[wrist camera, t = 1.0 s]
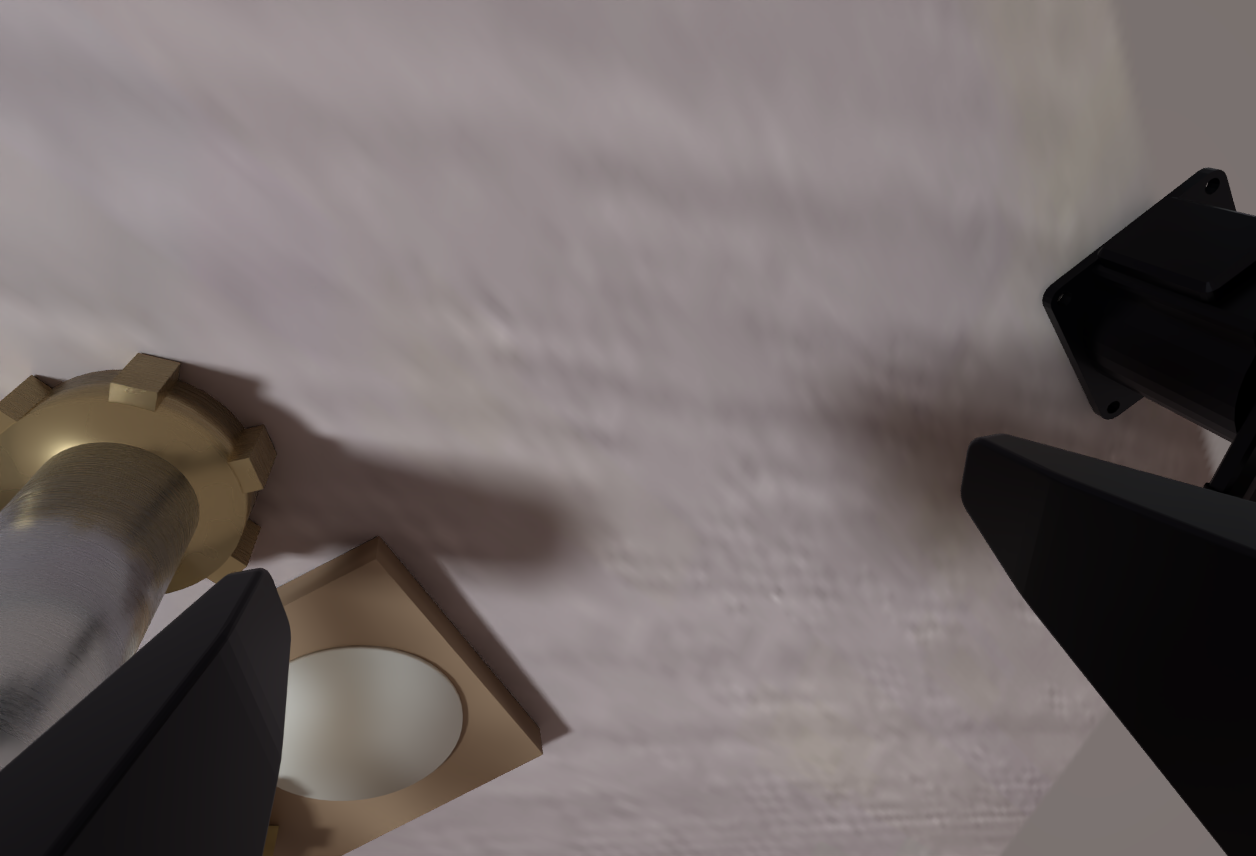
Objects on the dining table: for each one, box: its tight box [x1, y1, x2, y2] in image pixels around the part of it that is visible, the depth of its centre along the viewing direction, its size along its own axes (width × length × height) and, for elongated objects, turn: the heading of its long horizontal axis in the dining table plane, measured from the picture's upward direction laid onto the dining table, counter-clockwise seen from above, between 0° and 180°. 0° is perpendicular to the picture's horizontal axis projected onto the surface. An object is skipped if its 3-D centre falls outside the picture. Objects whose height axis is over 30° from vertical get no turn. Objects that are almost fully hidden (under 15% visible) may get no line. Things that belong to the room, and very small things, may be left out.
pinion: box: [0, 353, 277, 770], centre depth 17 cm, size 7×7×10 cm
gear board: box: [263, 536, 543, 856], centre depth 25 cm, size 17×11×5 cm, turn 115°
